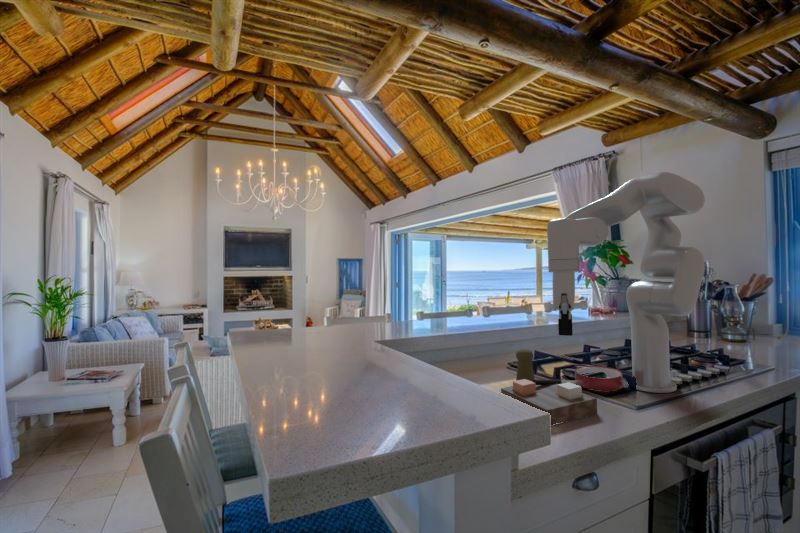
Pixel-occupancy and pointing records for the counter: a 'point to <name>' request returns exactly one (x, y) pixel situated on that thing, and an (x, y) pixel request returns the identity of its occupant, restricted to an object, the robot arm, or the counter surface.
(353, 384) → the counter surface
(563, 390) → the cream key
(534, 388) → the terracotta key
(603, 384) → the frying pan
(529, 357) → the olive brown rounded cylinder
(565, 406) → the brown wooden flat board
